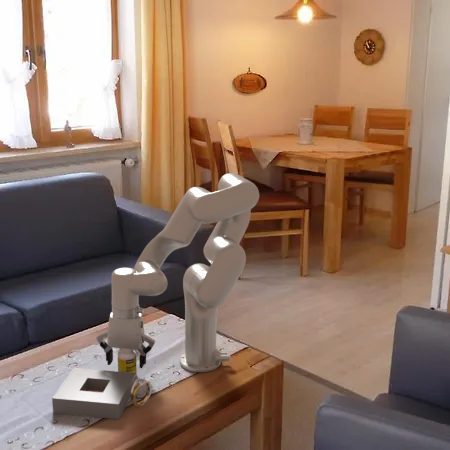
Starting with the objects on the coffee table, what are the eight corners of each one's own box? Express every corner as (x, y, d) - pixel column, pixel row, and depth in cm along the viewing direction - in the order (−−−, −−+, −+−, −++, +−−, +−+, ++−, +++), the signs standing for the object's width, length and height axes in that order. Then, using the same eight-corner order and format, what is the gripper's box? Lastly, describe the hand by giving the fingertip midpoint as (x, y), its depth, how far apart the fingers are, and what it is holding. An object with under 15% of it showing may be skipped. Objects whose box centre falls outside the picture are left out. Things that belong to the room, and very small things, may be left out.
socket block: (135, 387, 180) (134, 373, 179) (119, 419, 165) (118, 404, 164) (74, 381, 182) (73, 367, 181) (53, 413, 167) (52, 398, 166)
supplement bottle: (126, 382, 183) (125, 351, 180) (114, 375, 186) (113, 345, 183) (140, 374, 187) (139, 345, 184) (128, 368, 190) (127, 339, 187)
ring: (135, 412, 168) (134, 386, 166) (127, 407, 170) (126, 381, 168) (155, 402, 173) (154, 376, 171) (147, 397, 175) (146, 372, 173)
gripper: (158, 308, 183) (157, 361, 188) (100, 303, 185) (101, 355, 190) (151, 318, 176) (151, 373, 181) (91, 313, 178) (93, 368, 183)
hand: (126, 364), depth 185 cm, fingers open, 9 cm apart
